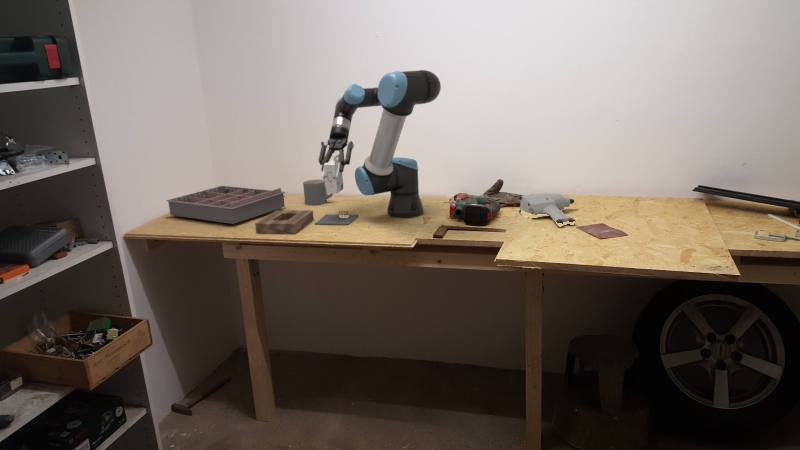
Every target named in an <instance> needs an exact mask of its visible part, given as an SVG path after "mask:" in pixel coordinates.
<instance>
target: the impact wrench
mask: <svg viewBox="0 0 800 450" xmlns="http://www.w3.org/2000/svg"><path fill="white" fill-rule="evenodd" d="M519 199H520V205H519V210H518V213H519V214H520V212H521V210H523V211H525V212H527V213H531V214H534V215H537V214H547V215H549V216H550V218H551V219H552V221H554V220H555V221H556V222H557V223H562V224H563V222H567V221H569V222H573V221H575V222H576V219H574V218H573V217H570V216H567V215H565V212H564V210H565V208H569V207H570V206H571V205H572V204H574V203H575V199H573V198H569V196H563V195H562V194H561V193H535V194H526V195H525V194H524V195H521V196H519ZM562 209H563V211H561V210H562Z"/></svg>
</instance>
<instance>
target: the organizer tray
mask: <svg viewBox="0 0 800 450" xmlns="http://www.w3.org/2000/svg"><path fill="white" fill-rule="evenodd" d="M285 193H286V191H282V187H278V188H275V189H272V190H268V189H258V188H249V187H238V186H229V185H228V186H226V185H219V186H216V187H212V188H209V189H204V190H201V191H197V192H196V191H195V192H193V193H189V194H185V195H182V196H178V197H175V198H170V199H167V200H165V201H166V202H168V206H169V213H170V216H176V217H181V218H188V219H196V220H203V221H209V222H210V221H211V222H217V223H224V224H231V225H236V224H238V223H240V222H244V221H246V220H250V219H252V218H253V219H254V218H255V217H258V216H261V215H264V214H268V213H271V212H272V211H273V212H274V211H276V210H279V209H283V208H285V196H284V194H285Z"/></svg>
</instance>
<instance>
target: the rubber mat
mask: <svg viewBox="0 0 800 450" xmlns="http://www.w3.org/2000/svg"><path fill="white" fill-rule="evenodd" d="M339 214H340V213H338V214H337V213H336V214H334V213H333V214H330V213H329V214H328V213H327V214H325V215H324V216H322V217H321V218H319V220H317V221H316V222H314V225H315V226H349V225H351V224H352V223H353V222H354V221H355V220H356V219H357V218H358V217H359V214H348V215H349V217H348V218H340V217H339Z"/></svg>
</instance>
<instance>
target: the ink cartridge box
mask: <svg viewBox="0 0 800 450" xmlns="http://www.w3.org/2000/svg"><path fill="white" fill-rule="evenodd" d="M337 158H338V159H337ZM338 163H341V162H340V152H339V153H337V154H336V155H334V156H333V160H329V162H328V163H326V164H324V173H325V185H326V194H328V195H329V194H333V195H334V194H339V193H340V192H341V191H343V190H344V179H343V177H344V176H343V172H341V175H340V180H337V178H336V173H337V167H338Z"/></svg>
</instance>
